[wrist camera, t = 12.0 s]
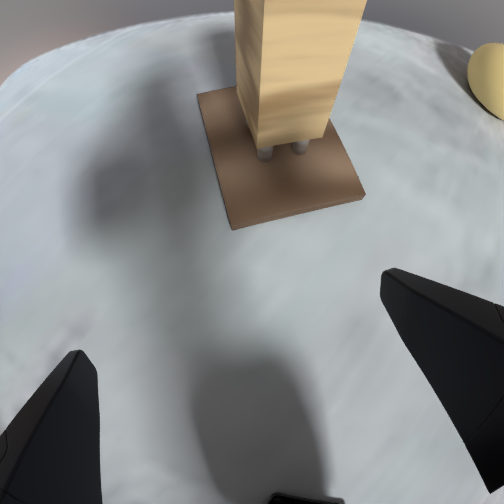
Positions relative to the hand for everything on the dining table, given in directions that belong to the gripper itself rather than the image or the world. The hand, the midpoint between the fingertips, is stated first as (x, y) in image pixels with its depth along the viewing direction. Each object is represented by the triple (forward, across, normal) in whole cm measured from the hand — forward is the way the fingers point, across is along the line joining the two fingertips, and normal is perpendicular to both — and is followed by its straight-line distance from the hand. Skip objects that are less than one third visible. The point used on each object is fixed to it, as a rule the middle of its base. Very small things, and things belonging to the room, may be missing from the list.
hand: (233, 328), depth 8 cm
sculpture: (+23, -42, -4) cm, 48 cm away
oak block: (+17, -7, -4) cm, 19 cm away
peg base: (+20, -7, -1) cm, 21 cm away
